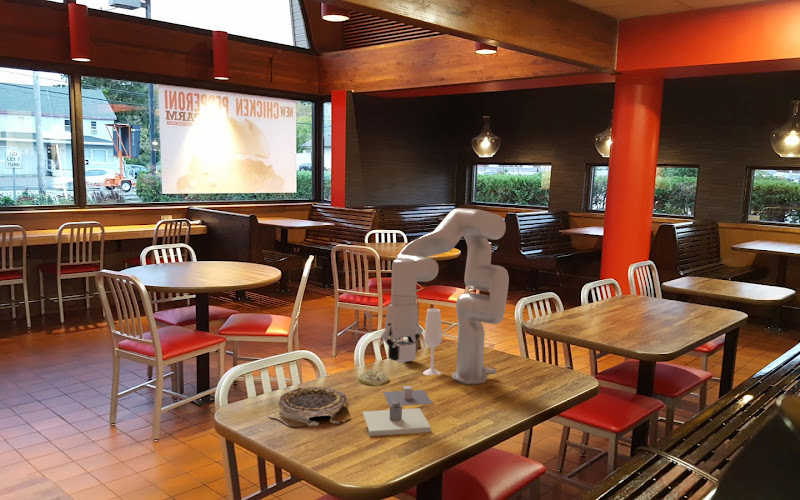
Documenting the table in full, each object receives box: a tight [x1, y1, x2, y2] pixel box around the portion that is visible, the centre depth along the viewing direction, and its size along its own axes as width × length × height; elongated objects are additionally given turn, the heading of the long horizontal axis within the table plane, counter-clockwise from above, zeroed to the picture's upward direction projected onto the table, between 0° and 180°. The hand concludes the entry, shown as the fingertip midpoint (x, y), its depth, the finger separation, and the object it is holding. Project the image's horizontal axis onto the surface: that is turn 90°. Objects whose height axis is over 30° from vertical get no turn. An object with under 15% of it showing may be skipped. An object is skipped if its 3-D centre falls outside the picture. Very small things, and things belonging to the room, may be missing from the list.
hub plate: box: [362, 402, 432, 437], centre depth 182 cm, size 18×14×6 cm
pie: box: [267, 386, 352, 428], centre depth 192 cm, size 28×27×5 cm
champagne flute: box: [422, 308, 443, 376], centre depth 226 cm, size 7×7×24 cm
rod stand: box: [382, 385, 433, 407], centre depth 199 cm, size 14×12×5 cm
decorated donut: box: [357, 370, 390, 387], centre depth 215 cm, size 10×11×4 cm
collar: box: [387, 338, 417, 364], centre depth 187 cm, size 6×6×5 cm
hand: (401, 356), depth 187 cm, fingers closed on collar, 6 cm apart
